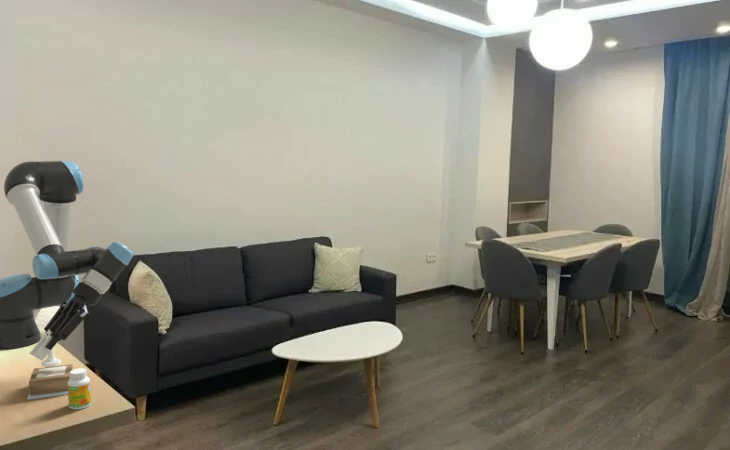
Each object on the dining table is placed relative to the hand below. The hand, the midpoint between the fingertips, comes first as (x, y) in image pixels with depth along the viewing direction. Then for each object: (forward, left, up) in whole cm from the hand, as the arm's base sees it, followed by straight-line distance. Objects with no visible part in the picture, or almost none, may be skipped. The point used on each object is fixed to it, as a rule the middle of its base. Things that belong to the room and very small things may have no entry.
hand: (35, 357), depth 163 cm
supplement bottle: (+13, +11, -11) cm, 20 cm away
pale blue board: (-5, +3, -10) cm, 12 cm away
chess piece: (-2, +4, -3) cm, 5 cm away
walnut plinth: (-2, +3, -10) cm, 11 cm away
